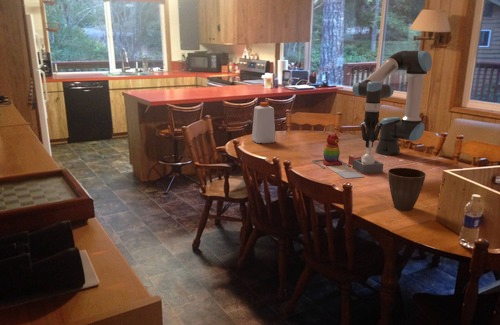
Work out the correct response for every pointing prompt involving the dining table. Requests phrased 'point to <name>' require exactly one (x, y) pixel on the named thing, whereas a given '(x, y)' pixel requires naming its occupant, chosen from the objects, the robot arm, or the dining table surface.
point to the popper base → (367, 167)
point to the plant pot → (405, 187)
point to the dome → (368, 159)
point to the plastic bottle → (263, 124)
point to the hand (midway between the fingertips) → (368, 153)
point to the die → (353, 159)
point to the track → (342, 170)
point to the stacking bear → (332, 151)
